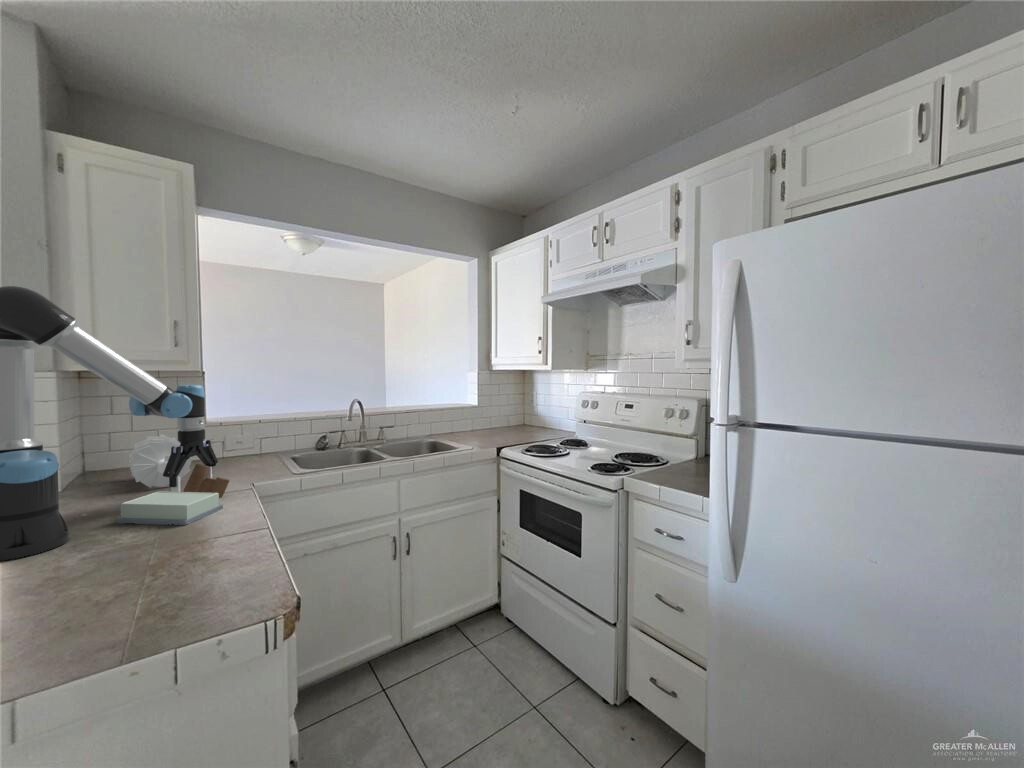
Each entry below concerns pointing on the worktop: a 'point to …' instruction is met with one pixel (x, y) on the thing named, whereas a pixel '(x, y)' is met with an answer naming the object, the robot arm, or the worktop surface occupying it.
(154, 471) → the spiral staircase
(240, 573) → the worktop surface
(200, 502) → the base
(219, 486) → the wooden block set
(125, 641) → the worktop surface
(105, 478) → the worktop surface
